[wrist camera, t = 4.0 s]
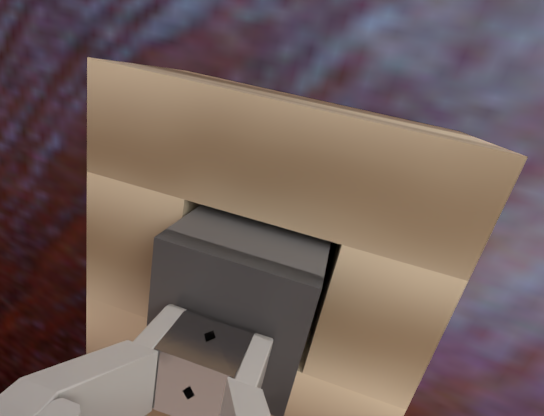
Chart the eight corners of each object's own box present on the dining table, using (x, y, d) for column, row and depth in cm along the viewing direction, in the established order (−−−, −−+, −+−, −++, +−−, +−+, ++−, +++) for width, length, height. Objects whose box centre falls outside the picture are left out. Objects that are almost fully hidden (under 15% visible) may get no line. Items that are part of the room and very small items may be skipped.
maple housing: (184, 70, 15) (87, 57, 10) (459, 131, 14) (527, 156, 8) (148, 430, 24) (85, 531, 18) (314, 498, 22) (299, 633, 17)
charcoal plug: (229, 184, 14) (154, 237, 9) (336, 213, 13) (321, 289, 8) (214, 276, 15) (143, 366, 10) (309, 306, 15) (282, 418, 10)
